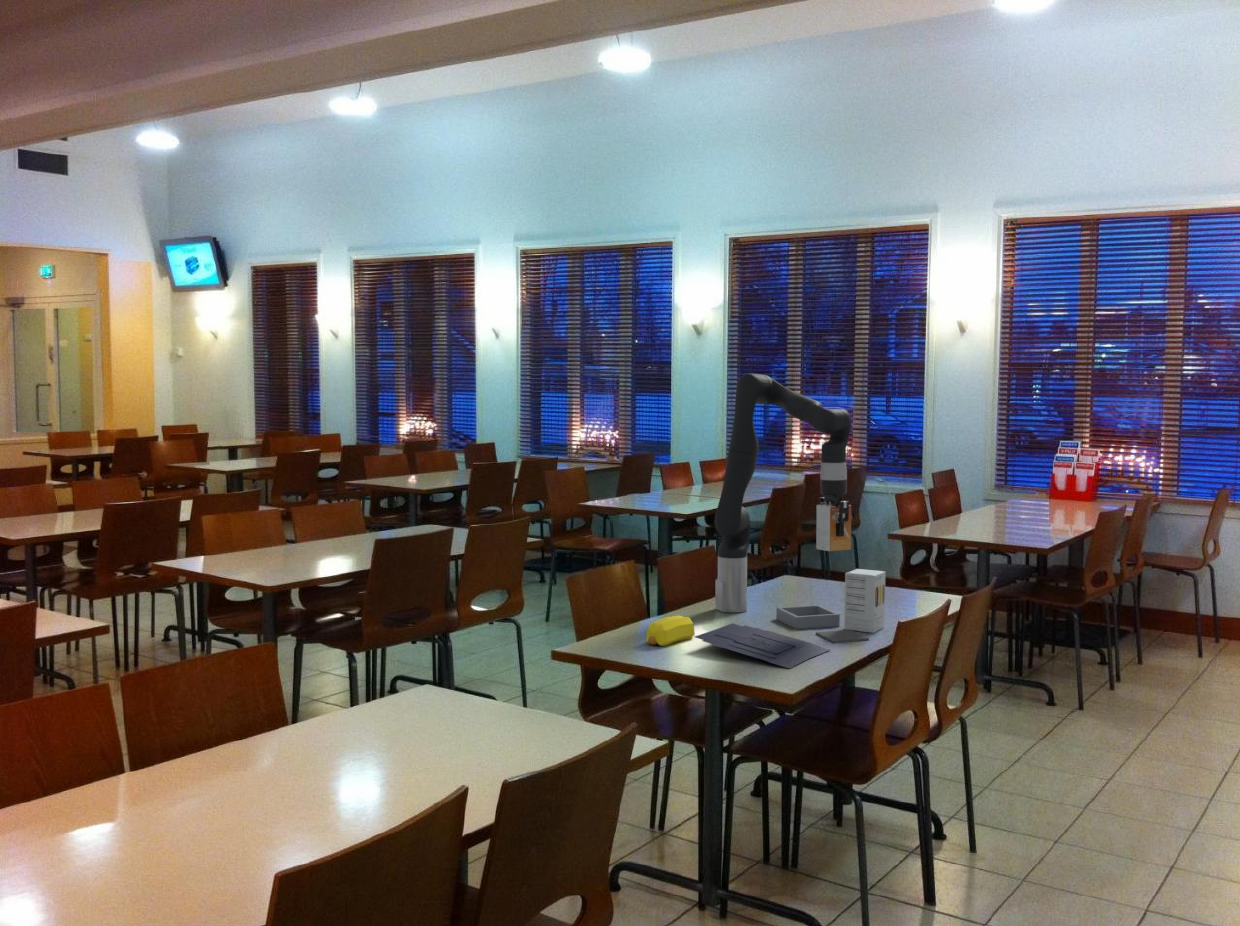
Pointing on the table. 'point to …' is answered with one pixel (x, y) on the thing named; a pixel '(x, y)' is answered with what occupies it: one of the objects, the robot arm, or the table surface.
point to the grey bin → (807, 616)
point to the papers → (762, 644)
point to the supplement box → (864, 600)
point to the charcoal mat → (842, 636)
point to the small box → (831, 530)
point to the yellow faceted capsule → (670, 630)
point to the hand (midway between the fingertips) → (833, 534)
